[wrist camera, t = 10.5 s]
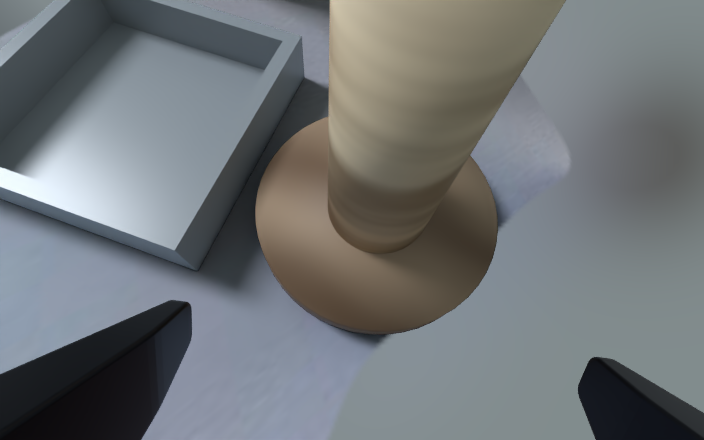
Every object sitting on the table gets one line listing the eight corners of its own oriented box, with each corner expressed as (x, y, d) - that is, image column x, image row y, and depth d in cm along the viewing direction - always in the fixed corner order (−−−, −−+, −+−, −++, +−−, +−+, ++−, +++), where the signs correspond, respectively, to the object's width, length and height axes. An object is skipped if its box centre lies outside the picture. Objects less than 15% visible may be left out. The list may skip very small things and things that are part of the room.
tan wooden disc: (460, 372, 17) (472, 371, 15) (218, 283, 18) (209, 274, 16) (502, 164, 22) (514, 149, 20) (311, 102, 23) (310, 84, 21)
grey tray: (197, 271, 18) (174, 250, 15) (-45, 182, 19) (-107, 147, 16) (304, 76, 23) (301, 35, 21) (113, 16, 24) (86, -30, 22)
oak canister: (413, 268, 17) (596, 18, 6) (312, 233, 17) (286, -69, 6) (438, 180, 19) (610, -135, 8) (347, 151, 20) (379, -192, 8)
